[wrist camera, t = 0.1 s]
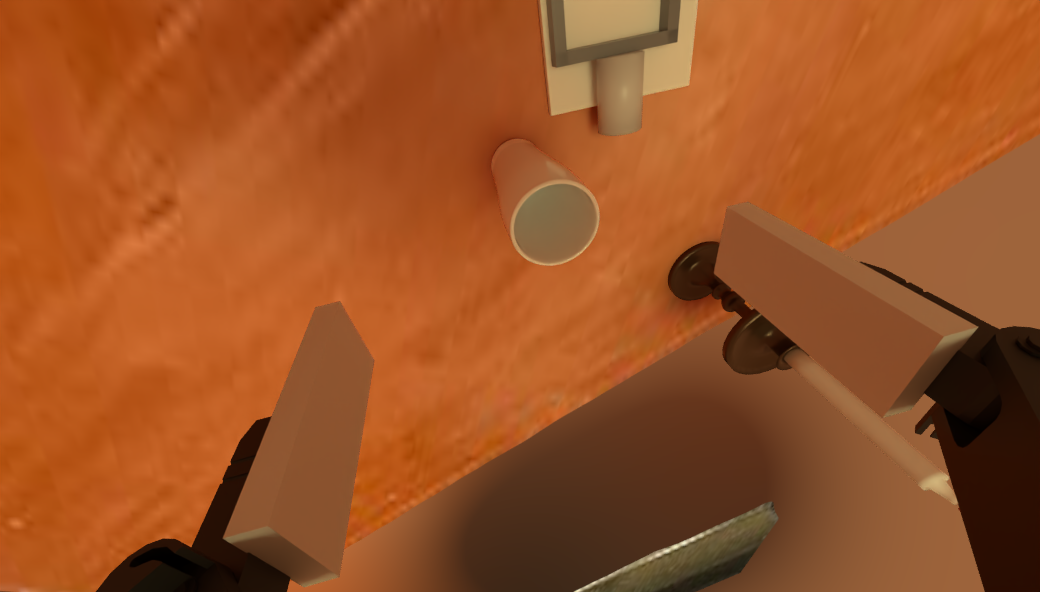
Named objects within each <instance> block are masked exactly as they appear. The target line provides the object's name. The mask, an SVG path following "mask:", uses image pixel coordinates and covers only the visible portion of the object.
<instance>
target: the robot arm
mask: <svg viewBox="0 0 1040 592" xmlns="http://www.w3.org/2000/svg"><path fill="white" fill-rule="evenodd" d="M714 274H715V275H716V276H717V277H719V278H720V279H721V280H722V281H723V282H724V283H726V284H727V285H728V286H729V287H730V288H731V289H733V290H734V291H735V292H736V293H737V294H738V295H740V296H741V297H742V298H743V299H744V300H745V301H747V302H748V303H749V304H750V305H751V306H752V307H754V308H755V309H756V310H757V311H758V312H759V313H761V314H762V315H763V316H764V317H765V318H766V319H768V320H769V321H770V322H771V323H772V324H773V325H774V326H776V327H777V328H778V329H779V330H780V331H781V332H783V333H784V334H785V335H786V336H787V337H788V338H790V339H791V340H792V341H793V342H794V343H795V344H797V345H798V346H799V347H800V348H801V349H802V350H804V351H805V352H806V353H807V354H808V355H809V356H811V357H812V358H813V359H814V360H815V361H816V362H818V363H819V364H820V365H821V366H822V367H824V368H825V369H826V370H827V371H828V372H829V373H830V374H832V375H833V376H834V377H835V378H836V379H838V380H839V381H840V382H841V383H842V384H843V385H844V386H846V387H847V388H848V389H849V390H850V391H851V392H853V393H854V394H855V395H856V396H857V397H858V398H860V399H861V400H862V401H863V402H864V403H865V404H867V405H868V406H869V407H870V408H871V409H872V410H874V411H875V412H876V413H877V414H878V415H879V416H881V417H882V418H884V417H888V416H891V415H895V414H898V413H902V412H905V411H908V410H911V409H912V408H913V407H914V405H915V404H916V403H917V402H918V400H919V399H920V398H921V397H922V395H923V394H924V393H925V394H926V395H927V396H929V397H930V398H932V399H933V400H934V401H936V403H935V404H934V405H933V406H932V407H931V408H930V410H929V411H928V412H927V413H926V414H925V415H924V417H923V418H922V419H921V420H920V421H919V422H918V424H917V425H916V426H915V433H917V434H920V435H921V434H922V433H923V432H924V431H925V429H927V428H928V426H929V425H930V424H934V426H935V430H934V431H933V433H932V434H931V435H930V437H932V438H936V439H938V440H939V443H940V446H941V449H942V453H943V456H944V459H945V463H946V466H947V469H948V472H949V476H950V479H951V482H952V485H953V489H954V492H955V495H956V499H957V502H958V505H959V508H960V512H961V515H962V518H963V521H964V525H965V528H966V531H967V535H968V538H969V541H970V544H971V548H972V551H973V554H974V557H975V561H976V564H977V567H978V571H979V574H980V577H981V580H982V584H983V587H984V590H985V592H1040V329H1035V328H1030V327H1016V326H1013V327H1007V328H1002V329H998V328H996V327H994V326H991V325H990V324H988V323H986V322H984V321H982V320H980V319H978V318H976V317H974V316H973V315H971V314H969V313H967V312H965V311H963V310H961V309H959V308H957V307H955V306H954V305H952V304H950V303H948V302H946V301H944V300H942V299H940V298H938V297H937V296H934V295H933V294H931V293H929V292H923V289H921V288H919V287H918V286H916V285H913V284H912V283H906V281H905V280H904V279H902V278H900V277H899V276H896V275H895V274H893V273H891V272H889V271H887V270H885V269H882V268H879V267H876V266H873V265H870V264H866V263H863V262H858V261H856V260H854V259H852V258H851V257H849V256H846V255H845V254H843V253H841V252H840V251H838V250H836V249H834V248H832V247H830V246H828V245H827V244H825V243H823V242H821V241H819V240H817V239H816V238H814V237H812V236H810V235H808V234H806V233H805V232H803V231H801V230H799V229H797V228H795V227H794V226H792V225H790V224H788V223H786V222H784V221H782V220H781V219H779V218H777V217H775V216H773V215H771V214H770V213H768V212H766V211H764V210H762V209H760V208H759V207H757V206H755V205H753V204H751V203H749V202H745V203H741V204H736V205H732V206H728V207H727V209H726V214H725V219H724V224H723V229H722V234H721V239H720V244H719V249H718V254H717V259H716V264H715V270H714ZM373 365H374V359H373V357H372V355H371V354H370V352H369V350H368V349H367V347H366V345H365V343H364V342H363V340H362V338H361V337H360V335H359V333H358V331H357V330H356V328H355V326H354V325H353V323H352V321H351V319H350V318H349V316H348V314H347V313H346V311H345V309H344V307H343V306H342V304H341V302H340V301H339V302H335V303H331V304H327V305H323V306H318V307H315V310H314V312H313V315H312V317H311V320H310V322H309V325H308V327H307V330H306V332H305V335H304V337H303V340H302V342H301V345H300V347H299V350H298V352H297V355H296V357H295V360H294V362H293V365H292V367H291V370H290V372H289V375H288V377H287V380H286V382H285V385H284V387H283V390H282V392H281V395H280V397H279V399H278V402H277V404H276V407H275V409H274V412H273V414H272V416H271V417H267V418H263V419H260V420H256V422H255V423H254V424H253V425H252V426H251V428H250V429H249V430H248V431H247V433H246V434H245V435H244V436H243V438H242V439H241V440H240V442H239V444H238V446H237V448H236V450H235V453H234V455H233V457H232V459H231V461H230V462H231V465H230V466H228V468H227V470H226V472H225V475H224V477H223V479H222V480H223V483H222V484H220V486H219V488H218V490H217V492H216V494H215V497H214V499H213V501H212V503H211V505H210V508H209V510H208V512H207V514H206V516H205V519H204V521H203V523H202V525H201V527H200V530H199V532H198V534H197V536H196V538H195V541H194V543H193V545H192V547H189V546H187V545H186V544H184V543H182V542H180V541H178V540H176V539H161V540H158V541H155V542H153V543H150V544H147V545H145V546H144V547H142V548H141V549H139V550H138V551H136V552H135V553H133V554H132V555H130V556H129V557H127V558H126V559H125V560H124V561H123V562H122V563H121V564H120V565H119V566H118V567H117V568H116V569H115V570H113V571H112V572H111V573H110V574H109V576H108V577H107V578H106V579H105V581H104V582H103V583H102V585H101V586H100V587H99V588H98V590H97V591H96V592H287V589H288V585H289V581H290V579H291V580H293V581H295V582H296V583H298V584H299V585H301V586H303V587H307V586H310V585H314V584H317V583H320V582H324V581H327V580H331V579H334V578H337V577H339V576H340V570H341V564H342V557H343V552H344V545H345V539H346V533H347V527H348V520H349V514H350V508H351V502H352V496H353V489H354V483H355V477H356V471H357V465H358V458H359V452H360V446H361V440H362V434H363V427H364V421H365V415H366V409H367V403H368V396H369V390H370V384H371V378H372V371H373Z"/></svg>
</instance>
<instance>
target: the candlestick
mask: <svg viewBox="0 0 1040 592" xmlns="http://www.w3.org/2000/svg"><path fill="white" fill-rule="evenodd" d="M719 244H720V243H718V242H704V243H700V244H698V245H695V246H693V247H691V248H690V249H688V250H687V251H685V252H684V253H683V254H682V255H681V256H680V257H679V258H678V259H677V260H676V262H675V263H674V264H673V266H672V268H671V270H670V273H669V276H668V285H669V288H670V290H671V291H672V292H673V293H674V294H675V295H676V296H677V297H678V298H680V299H683V300H689V301H690V300H697V299H701V298H703V297H706V296H708V295H709V294H711V293H712V296H713V297H714V298H715V299H721V300H722V301H721V303H722V307H723V309H724V310H725V311H727V312H734V311H735V312H737V313H738V314H739V315H740V316H741V317H742V319H740V320H739V321H738V322H737V324H736V325H735V326H734V327H733V328H732V330H731V331H730V332H729V334H728V336H727V338H726V340H725V342H724V345H723V358H724V360H725V361H726V362H727V364H728V365H729V366H730V367H731V368H732V369H733V370H734V371H736V372H738V373H741V374H758V373H762V372H766V371H769V370H771V369H774V368H776V367H777V368H778V369H780V370H787V369H791V368H793V369H794V370H795V371H796V372H798V373H799V374H800V375H801V376H802V377H803V378H804V379H805V380H806V381H807V382H808V383H809V384H810V385H812V387H814V388H815V389H816V390H817V391H818V392H819V393H820V394H821V395H822V396H823V397H824V398H825V399H826V400H827V401H829V402H830V403H831V404H832V405H833V406H834V407H835V408H836V409H837V410H838V411H839V412H841V414H842V415H844V416H845V417H846V418H847V419H848V420H849V421H850V422H851V423H852V424H853V425H854V426H855V427H856V428H858V429H859V430H860V431H861V432H862V433H863V434H864V435H865V436H866V437H867V438H868V439H869V440H870V441H871V442H873V443H874V444H875V445H876V446H877V447H878V448H879V449H880V450H881V451H882V452H883V453H884V454H885V455H886V456H888V457H889V458H890V459H891V460H892V461H893V462H894V463H895V464H896V465H897V466H898V467H899V468H900V469H901V470H903V471H904V472H905V473H906V474H907V475H908V476H909V477H910V478H911V479H912V480H913V481H914V482H915V483H917V484H918V485H919V486H920V487H921V488H922V489H923V490H925V491H926V490H930V489H931V490H933V491H934V492H936V493H937V494H939V495H941V496H942V497H944V498H945V499H947V500H948V501H950V502H951V503H952V504H953V505H958V502H957V499H956V495H955V493H954V492H953V491H952V489H951V488H950V487H949V485H948V484H947V482H946V481H947V480H948V479H949V477H948V476H947V475H946V474H945V473H944V472H942V471H941V470H940V469H939V468H938V467H937V466H935V465H934V464H933V463H932V462H931V461H930V460H929V459H927V458H926V457H925V456H924V455H923V454H922V453H920V452H919V451H918V450H917V449H916V448H915V447H914V446H912V445H911V444H910V443H909V442H908V441H906V440H905V439H904V438H903V437H902V436H901V435H900V434H898V433H897V432H896V431H895V430H894V429H893V428H892V427H890V426H889V425H888V424H887V423H886V422H884V421H883V420H882V419H881V418H880V417H879V416H878V415H876V414H875V413H874V412H873V411H872V410H871V409H869V408H868V407H867V406H866V405H865V404H864V403H863V402H861V401H860V400H859V399H858V398H857V397H856V396H854V395H853V394H852V393H851V392H850V391H849V390H847V389H846V388H845V387H844V386H843V385H842V384H840V383H839V382H838V381H837V380H836V379H835V378H834V377H832V376H831V375H830V374H829V373H828V372H827V371H825V370H824V369H823V368H822V367H821V366H820V365H818V364H817V363H816V362H815V361H814V360H812V359H811V358H810V357H809V355H808V354H807V353H806V352H805V351H804V350H802V349H801V348H800V347H799V346H798V345H797V344H795V343H794V342H793V341H792V340H791V339H790V338H788V337H787V336H786V335H785V334H784V333H783V332H781V331H780V330H779V329H778V328H777V327H776V326H774V325H773V324H772V323H771V322H770V321H769V320H768V319H766V318H765V317H764V316H763V315H762V314H761V313H759V312H758V311H757V310H756V309H755V308H754V309H753V310H751V309H750V308H749V307H748V306H746V305H745V304H744V303H745V300H744V299H743V298H742V297H741V296H740V295H738V294H737V293H736V292H735V291H731V288H730V287H729V286H728V285H727V284H726V283H724V282H723V281H722V280H721V279H720V278H719V277H717V276H716V275H715V274H714V270H715V264H716V259H717V254H718V249H719ZM958 509H959V510H960V508H958Z"/></svg>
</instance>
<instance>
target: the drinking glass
mask: <svg viewBox="0 0 1040 592" xmlns="http://www.w3.org/2000/svg"><path fill="white" fill-rule="evenodd" d="M491 171H492V175H493V178H494V180H495V185H496V191H497V196H498V202H499V208H500V212H501V217H502V220H503V223H504V226H505V228H506V231H507V233H508V235H509V237H510V239H511V241H512V243H513V245H514V247H515V249H516V250H517V251H518V253H519V254H520V255H521V256H522V257H524V258H525V259H527V260H528V261H530V262H532V263H535V264H539V265H545V266H551V265H558V264H562V263H565V262H568V261H570V260H572V259H574V258H575V257H577V256H578V255H580V254H581V253H582V252H583V251H584V250H585V249H586V248H587V247H588V246H589V245H590V243H591V242H592V240H593V239H594V237H595V235H596V232H597V230H598V226H599V220H600V212H599V207H598V203H597V201H596V199H595V197H594V195H593V194H592V193H591V191H590V190H589V189H588V188H587V186H586V185H585V184H584V183H583V182H582V181H581V180H580V178H579V177H578V176H576V175H575V174H574V173H573V172H572V171H571V170H570V169H568V168H567V167H566V166H564V165H563V164H561V163H560V162H558V161H557V160H555V159H554V158H552V157H550V156H549V155H547V154H546V153H544V152H543V151H541V150H540V149H538V148H537V147H536V146H535V145H534V144H533V143H532V142H530V141H528V140H525V139H511V140H508V141H506V142H504V143H503V144H502V145H500V146H499V147H498V149H497V150H496V151H495V153H494V155H493V158H492V162H491Z"/></svg>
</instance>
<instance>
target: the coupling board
mask: <svg viewBox="0 0 1040 592" xmlns="http://www.w3.org/2000/svg"><path fill="white" fill-rule="evenodd" d="M697 6H698V0H538V9H539V19H540V29H541V38H542V48H543V58H544V68H545V78H546V88H547V98H548V108H549V115H551V116H553V115H558V114H562V113H567V112H571V111H576V110H580V109H585V108H589V107H594V106H597V107H598V133H600V134H602V135H608V136H617V135H625V134H630V133H633V132H636V131H638V130H640V129H641V128H642V104H643V96H644V95H648V94H653V93H657V92H662V91H666V90H671V89H675V88H680V87H684V86H689V81H690V72H691V62H692V53H693V44H694V34H695V25H696V16H697Z"/></svg>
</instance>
